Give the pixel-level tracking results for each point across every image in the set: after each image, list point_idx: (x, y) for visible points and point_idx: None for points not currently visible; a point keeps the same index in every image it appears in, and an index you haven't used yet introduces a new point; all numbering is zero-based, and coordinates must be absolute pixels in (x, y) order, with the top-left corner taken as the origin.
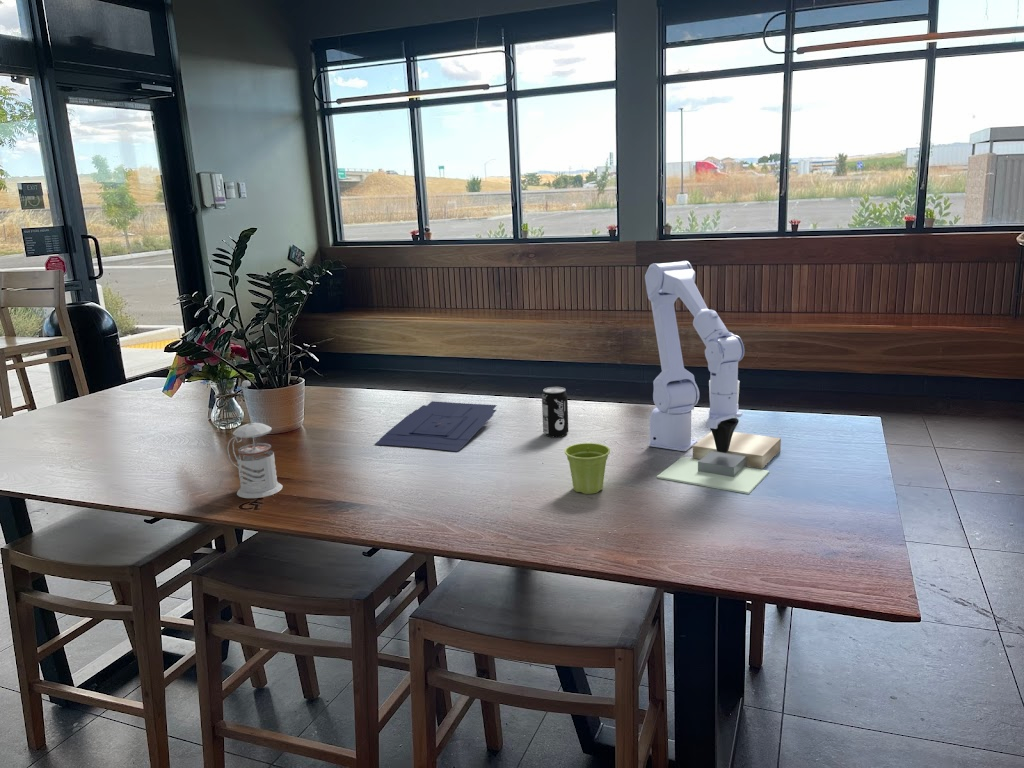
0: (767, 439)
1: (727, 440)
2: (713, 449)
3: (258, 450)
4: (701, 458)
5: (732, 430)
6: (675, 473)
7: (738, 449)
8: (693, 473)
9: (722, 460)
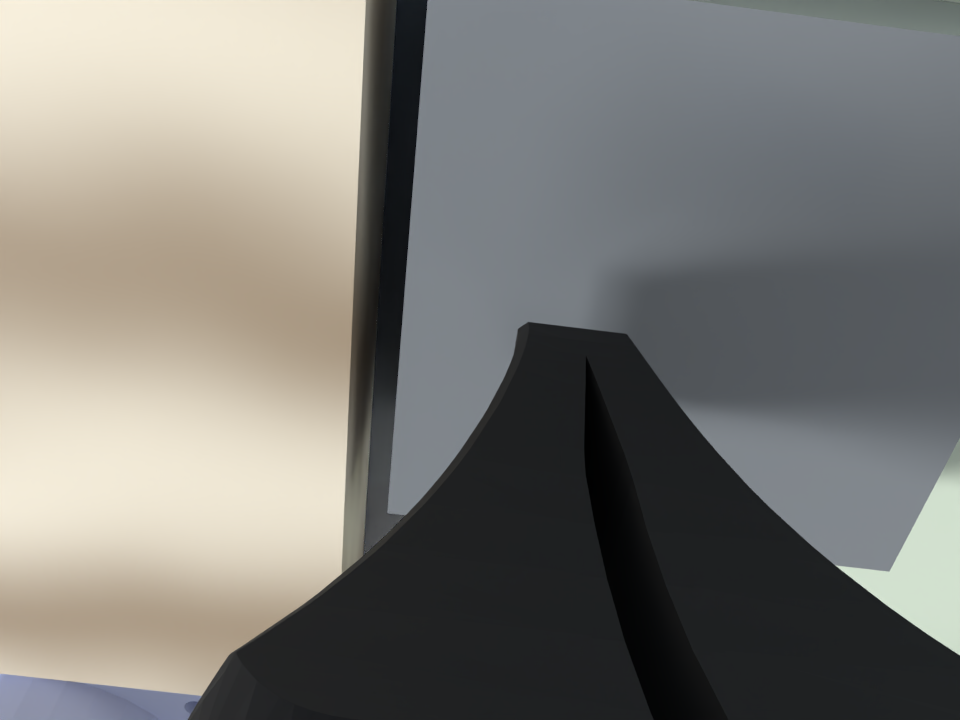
0: None
1: (738, 480)
2: (349, 502)
3: None
4: (364, 517)
5: (600, 583)
6: (956, 637)
7: (196, 175)
8: (938, 503)
9: (784, 310)
